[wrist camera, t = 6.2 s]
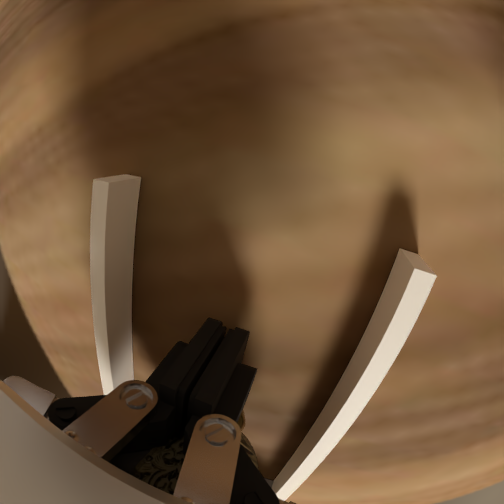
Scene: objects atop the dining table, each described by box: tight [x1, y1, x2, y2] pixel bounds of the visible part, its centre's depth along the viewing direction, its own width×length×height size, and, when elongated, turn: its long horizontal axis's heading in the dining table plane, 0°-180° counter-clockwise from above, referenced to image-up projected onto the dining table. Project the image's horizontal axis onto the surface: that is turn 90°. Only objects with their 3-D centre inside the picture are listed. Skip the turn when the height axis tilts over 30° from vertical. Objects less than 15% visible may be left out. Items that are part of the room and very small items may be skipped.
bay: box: [90, 174, 437, 501], centre depth 12 cm, size 18×12×4 cm, turn 168°
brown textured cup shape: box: [134, 410, 258, 495], centre depth 10 cm, size 8×7×8 cm
